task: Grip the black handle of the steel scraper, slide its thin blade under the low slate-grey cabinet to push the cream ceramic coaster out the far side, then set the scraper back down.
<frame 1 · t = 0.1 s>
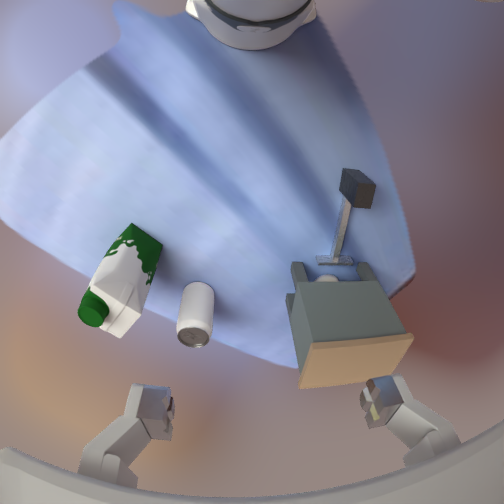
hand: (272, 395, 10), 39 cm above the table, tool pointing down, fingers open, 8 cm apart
scraper: (349, 180, 46), on the table
milk carton: (138, 245, 51), on the table
cabinet: (326, 282, 58), on the table
can: (198, 292, 58), on the table
coaster: (325, 285, 59), on the table
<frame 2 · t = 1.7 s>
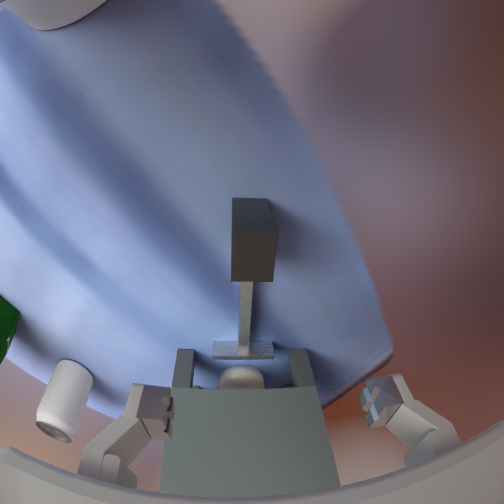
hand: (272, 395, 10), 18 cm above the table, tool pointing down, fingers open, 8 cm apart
scraper: (248, 219, 26), on the table
milk carton: (1, 309, 30), on the table
cabinet: (241, 374, 36), on the table
can: (76, 370, 36), on the table
coaster: (241, 377, 37), on the table
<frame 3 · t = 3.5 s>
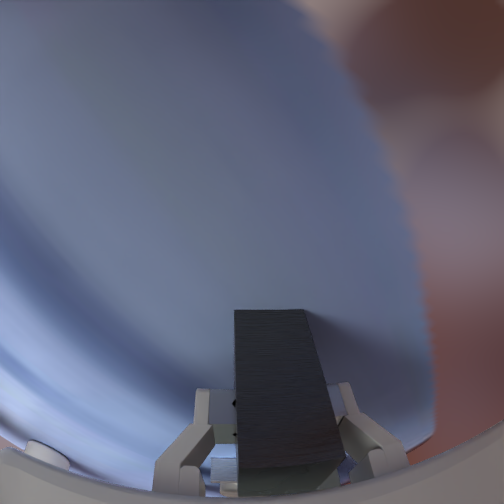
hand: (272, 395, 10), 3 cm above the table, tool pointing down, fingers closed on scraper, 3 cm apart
scraper: (265, 342, 13), on the table, touching gripper
can: (49, 450, 23), on the table
coaster: (247, 478, 24), on the table
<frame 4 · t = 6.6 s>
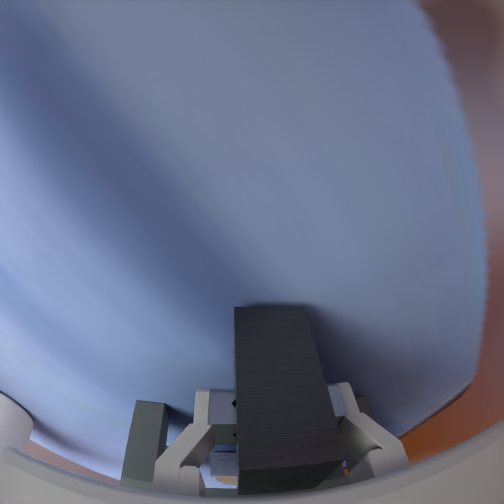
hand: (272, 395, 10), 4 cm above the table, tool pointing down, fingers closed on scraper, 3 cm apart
scraper: (266, 339, 13), point 1 cm above the table, touching coaster, gripper
cabinet: (250, 436, 19), on the table
can: (12, 405, 19), on the table
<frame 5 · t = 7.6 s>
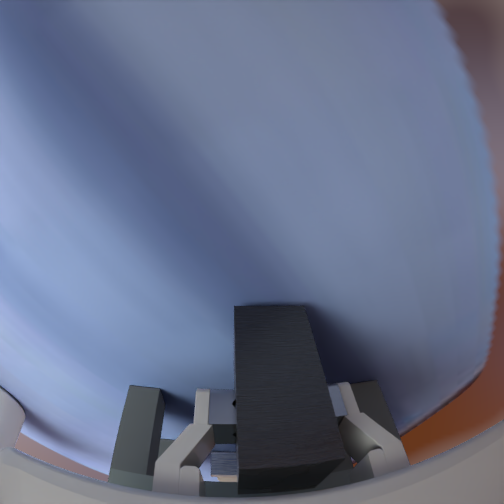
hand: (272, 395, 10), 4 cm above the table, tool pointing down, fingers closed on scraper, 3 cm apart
scraper: (266, 338, 13), point 1 cm above the table, touching gripper
cabinet: (253, 427, 18), on the table
can: (3, 395, 18), on the table
when the fingers open (3 cm above the table, at t = 9.9 s): scraper stays where it is, on the table.
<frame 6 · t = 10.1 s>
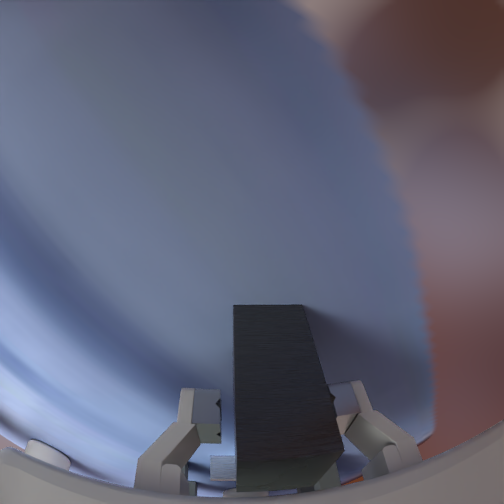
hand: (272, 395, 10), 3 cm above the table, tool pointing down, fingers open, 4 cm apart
scraper: (264, 337, 13), on the table
cabinet: (248, 476, 24), on the table
can: (50, 449, 23), on the table
coaster: (245, 491, 28), on the table
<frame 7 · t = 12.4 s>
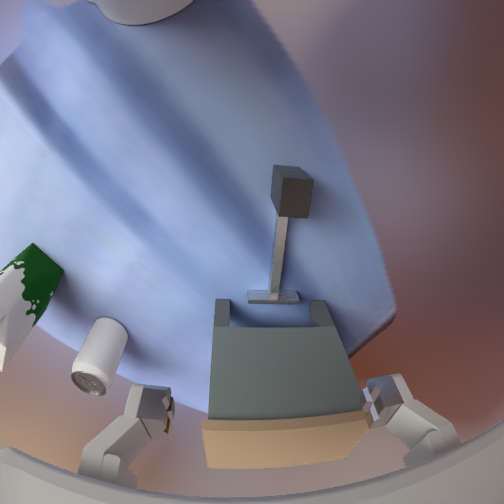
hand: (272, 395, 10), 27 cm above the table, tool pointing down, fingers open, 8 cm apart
scraper: (284, 182, 34), on the table
milk carton: (42, 270, 37), on the table
cabinet: (268, 326, 44), on the table
can: (111, 330, 43), on the table
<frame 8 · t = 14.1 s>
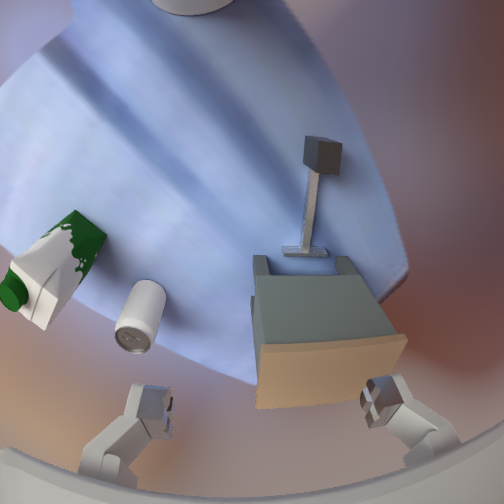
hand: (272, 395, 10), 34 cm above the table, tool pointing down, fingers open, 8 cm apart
scraper: (314, 150, 39), on the table
milk carton: (83, 236, 43), on the table
cabinet: (298, 281, 49), on the table
can: (149, 293, 49), on the table
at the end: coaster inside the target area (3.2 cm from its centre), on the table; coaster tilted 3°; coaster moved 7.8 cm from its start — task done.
